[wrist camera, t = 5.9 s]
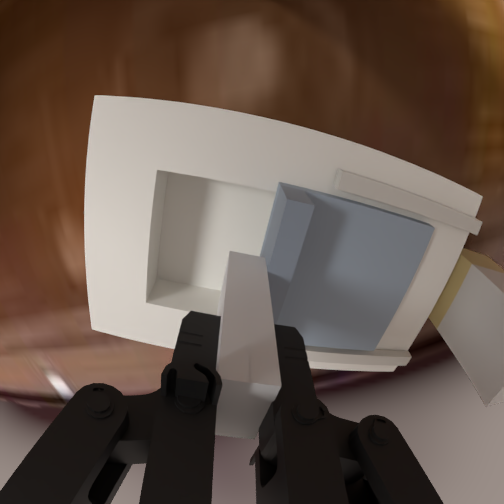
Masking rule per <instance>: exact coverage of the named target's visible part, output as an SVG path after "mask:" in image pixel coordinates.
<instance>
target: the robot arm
mask: <svg viewBox="0 0 504 504" xmlns="http://www.w3.org/2000/svg"><path fill="white" fill-rule="evenodd" d="M305 351H306V348H305V344H304V339H303V337H302V336H301V334H300V333H299V332H298V330H297V329H296V328H295V327H291V326H284V325H277V324H274V320H273V312H272V304H271V297H270V289H269V281H268V273H267V266H266V259H265V258H264V257H259V256H254V255H249V254H244V253H239V252H234V251H229V256H228V261H227V265H226V270H225V275H224V279H223V284H222V289H221V294H220V298H219V303H218V310H217V315H212V314H206V313H201V312H196V311H190V312H189V313H188V314H187V315H186V316H185V317H184V318H183V319H182V322H181V326H180V330H179V334H178V338H177V342H176V345H175V349H174V353H173V358H172V362H171V363H170V364H168V365H167V366H166V367H165V369H164V370H163V372H162V374H161V388H160V389H158V390H157V391H155V392H153V393H150V394H146V395H134V396H123V394H122V393H121V392H120V391H118V390H117V389H116V388H114V387H113V386H110V385H107V384H104V383H93V384H90V385H86V386H84V387H82V388H81V389H80V390H79V391H77V392H76V394H75V395H74V396H73V397H72V398H71V400H70V401H69V402H68V403H67V405H66V406H65V407H64V408H63V410H62V411H61V412H60V413H59V415H58V416H57V417H56V418H55V420H54V421H53V422H52V423H51V425H50V426H49V427H48V428H47V430H46V431H45V432H44V434H43V435H42V436H41V437H40V439H39V440H38V441H37V443H36V444H35V445H34V447H33V448H32V449H31V450H30V452H29V453H28V454H27V456H26V457H25V458H24V460H23V461H22V463H21V464H20V465H19V466H18V468H17V469H16V470H15V472H14V473H13V475H12V476H11V477H10V479H9V480H8V481H7V483H6V484H5V486H4V487H3V488H2V490H1V491H0V504H110V503H111V502H112V500H113V498H114V496H115V495H116V493H117V491H118V489H119V487H120V486H121V484H122V482H123V480H124V478H125V477H126V475H127V473H128V471H129V469H130V468H131V465H132V464H141V463H146V468H145V473H144V479H143V484H142V490H141V496H140V502H139V504H211V501H212V500H211V499H212V480H213V461H214V444H215V435H221V436H229V437H238V438H249V439H255V437H256V435H257V433H258V432H259V446H258V447H257V449H256V451H255V453H254V454H253V456H252V457H251V459H250V464H249V465H253V464H254V463H255V468H256V469H255V471H256V504H443V502H442V500H441V499H440V497H439V495H438V494H437V492H436V490H435V489H434V487H433V485H432V484H431V482H430V480H429V479H428V477H427V475H426V474H425V472H424V470H423V469H422V467H421V466H420V464H419V462H418V461H417V459H416V457H415V456H414V454H413V452H412V451H411V449H410V448H409V446H408V444H407V443H406V441H405V439H404V438H403V436H402V435H401V433H400V432H399V430H398V428H397V427H396V426H395V425H394V423H393V422H392V421H390V420H389V419H387V418H385V417H383V416H379V415H370V416H367V417H365V418H363V419H362V420H361V421H360V423H357V422H353V421H349V420H345V419H342V418H339V417H336V416H334V415H332V414H330V413H329V411H328V409H327V407H326V406H325V405H324V404H323V403H322V402H321V401H320V400H318V399H317V397H316V394H315V389H314V384H313V380H312V375H311V371H310V366H309V362H308V357H307V353H306V352H305Z"/></svg>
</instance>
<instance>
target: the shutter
mask: <svg viewBox="0 0 504 504" xmlns="http://www.w3.org/2000/svg"><path fill="white" fill-rule="evenodd" d="M434 229H435V228H434V227H433V226H432V225H430V224H429V223H426V222H423V221H420V220H417V219H414V218H411V217H407V216H404V215H401V214H398V213H395V212H391V211H388V210H385V209H381V208H378V207H374V206H371V205H368V204H364V203H361V202H357V201H353V200H350V199H346V198H342V197H339V196H335V195H331V194H327V193H323V192H319V191H315V190H311V189H307V188H303V187H299V186H295V185H291V184H287V183H282V182H279V183H278V187H277V191H276V195H275V199H274V203H273V207H272V210H271V214H270V218H269V222H268V226H267V230H266V233H265V237H264V241H263V245H262V249H261V253H260V256H259V257H264V258H265V259H266V266H267V273H268V281H269V289H270V297H271V304H272V312H273V320H274V324H277V325H284V326H291V327H295V328H296V329H297V330H298V332H299V333H300V334H301V336H302V337H303V339H304V344H305V345H308V346H317V347H328V348H339V349H352V350H366V351H374V350H375V348H376V346H377V345H378V343H379V341H380V340H381V338H382V336H383V334H384V333H385V331H386V329H387V327H388V326H389V324H390V322H391V320H392V318H393V316H394V315H395V313H396V311H397V309H398V307H399V305H400V303H401V301H402V299H403V297H404V295H405V293H406V291H407V289H408V287H409V285H410V283H411V281H412V279H413V277H414V275H415V273H416V271H417V269H418V266H419V264H420V262H421V260H422V257H423V255H424V253H425V251H426V248H427V246H428V244H429V241H430V239H431V236H432V234H433V231H434Z"/></svg>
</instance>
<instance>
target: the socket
mask: <svg viewBox="0 0 504 504" xmlns="http://www.w3.org/2000/svg"><path fill="white" fill-rule="evenodd" d="M279 182H282V183H287V184H291V185H295V186H299V187H303V188H307V189H311V190H315V191H319V192H323V193H327V194H331V195H335V196H339V197H342V198H346V199H350V200H353V201H357V202H361V203H364V204H368V205H371V206H374V207H378V208H381V209H385V210H388V211H391V212H395V213H398V214H401V215H404V216H407V217H411V218H414V219H417V220H420V221H423V222H426V223H429V224H430V225H432V226H433V227H434V228H435V229H434V231H433V234H432V236H431V239H430V241H429V244H428V246H427V248H426V251H425V253H424V255H423V257H422V260H421V262H420V264H419V266H418V269H417V271H416V273H415V275H414V277H413V279H412V281H411V283H410V285H409V287H408V289H407V291H406V293H405V295H404V297H403V299H402V301H401V303H400V305H399V307H398V309H397V311H396V313H395V315H394V316H393V318H392V320H391V322H390V324H389V326H388V327H387V329H386V331H385V333H384V334H383V336H382V338H381V340H380V341H379V343H378V345H377V346H376V348H375V350H374V351H366V350H352V349H339V348H328V347H317V346H308V345H305V348H306V351H305V352H306V353H307V357H308V362H309V366H310V368H316V369H331V370H350V371H387V372H393V371H394V370H395V369H396V367H397V366H406V365H407V363H408V362H409V361H410V359H411V358H412V357H411V355H410V353H409V351H408V349H409V348H410V346H411V345H412V343H413V341H414V340H415V338H416V337H417V335H418V333H419V332H420V330H421V328H422V327H423V325H424V323H425V322H426V320H427V318H428V316H429V315H430V313H431V311H432V309H433V308H434V306H435V304H436V302H437V300H438V298H439V296H440V295H441V293H442V291H443V289H444V287H445V285H446V283H447V281H448V279H449V277H450V275H451V273H452V271H453V269H454V267H455V264H456V262H457V260H458V258H459V256H460V254H461V251H462V249H463V247H464V244H465V242H466V240H467V237H468V235H469V232H470V233H472V234H475V235H478V233H479V230H480V228H481V225H482V222H481V221H480V220H478V219H477V218H475V217H476V214H477V212H478V209H479V206H480V203H481V201H482V198H483V196H481V195H479V194H477V193H475V192H473V191H471V190H469V189H467V188H465V187H463V186H461V185H459V184H457V183H455V182H453V181H451V180H448V179H446V178H444V177H442V176H440V175H437V174H435V173H433V172H431V171H428V170H426V169H424V168H421V167H419V166H416V165H414V164H412V163H409V162H407V161H404V160H402V159H399V158H397V157H394V156H391V155H389V154H386V153H383V152H381V151H378V150H375V149H372V148H369V147H366V146H364V145H361V144H358V143H355V142H352V141H349V140H345V139H342V138H339V137H336V136H333V135H329V134H326V133H323V132H319V131H316V130H312V129H309V128H305V127H301V126H297V125H294V124H290V123H286V122H282V121H278V120H273V119H269V118H265V117H260V116H256V115H251V114H246V113H241V112H236V111H231V110H226V109H220V108H214V107H209V106H202V105H196V104H189V103H182V102H174V101H166V100H157V99H147V98H135V97H121V96H102V95H95V97H94V103H93V109H92V116H91V124H90V132H89V141H88V151H87V163H86V179H85V208H84V233H85V262H86V278H87V290H88V301H89V310H90V318H91V326H92V329H93V330H97V331H100V332H104V333H108V334H112V335H115V336H119V337H123V338H127V339H131V340H136V341H140V342H144V343H149V344H153V345H158V346H162V347H167V348H172V349H175V345H176V342H177V338H178V334H179V330H180V326H181V322H182V319H183V318H184V317H185V316H186V315H187V314H188V313H189V312H190V311H196V312H201V313H206V314H212V315H217V310H218V303H219V298H220V294H221V289H222V284H223V279H224V275H225V270H226V265H227V261H228V256H229V251H234V252H239V253H244V254H249V255H254V256H260V253H261V249H262V245H263V241H264V237H265V233H266V230H267V226H268V222H269V218H270V214H271V210H272V207H273V203H274V199H275V195H276V191H277V187H278V183H279Z"/></svg>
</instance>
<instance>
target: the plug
mask: <svg viewBox="0 0 504 504" xmlns="http://www.w3.org/2000/svg"><path fill="white" fill-rule="evenodd" d="M428 318H429V319H430V320H431V322H432V323H433V325H434V326H435V327H436V329H437V330H438V332H439V333H440V335H441V336H442V338H443V339H444V340H445V342H446V343H447V345H448V346H449V348H450V349H451V351H452V352H453V354H454V355H455V357H456V359H457V360H458V362H459V363H460V364H461V366H462V368H463V369H464V371H465V373H466V374H467V376H468V377H469V379H470V381H471V382H472V384H473V386H474V387H475V389H476V391H477V392H478V394H479V395H480V398H481V399H482V401H483V403H484V404H485V406H486V407H487V406H491V405H495V404H498V403H502V402H504V270H503V269H502V268H501V267H500V266H499V265H497V264H496V263H495V262H494V261H493V260H491V259H490V258H489V257H488V256H486V255H483V254H480V253H477V252H474V251H471V250H468V249H465V248H463V249H462V251H461V254H460V256H459V258H458V260H457V262H456V264H455V267H454V269H453V271H452V273H451V275H450V277H449V279H448V281H447V283H446V285H445V287H444V289H443V291H442V293H441V295H440V296H439V298H438V300H437V302H436V304H435V306H434V308H433V309H432V311H431V313H430V315H429V316H428Z"/></svg>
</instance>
